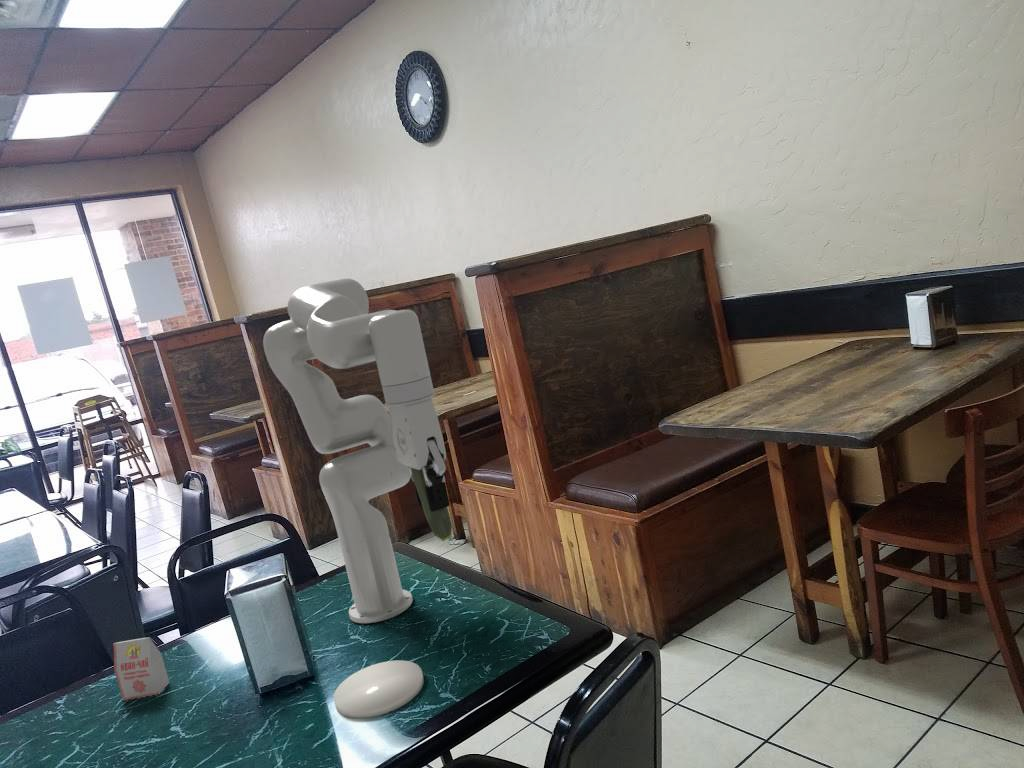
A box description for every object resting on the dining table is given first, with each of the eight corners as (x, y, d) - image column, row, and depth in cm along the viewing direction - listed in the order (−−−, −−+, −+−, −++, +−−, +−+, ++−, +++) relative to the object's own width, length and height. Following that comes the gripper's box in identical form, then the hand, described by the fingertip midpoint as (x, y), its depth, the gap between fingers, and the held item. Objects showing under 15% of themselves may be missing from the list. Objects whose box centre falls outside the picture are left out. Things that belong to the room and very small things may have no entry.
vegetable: (451, 546, 120) (422, 421, 117) (424, 549, 121) (396, 425, 118) (458, 535, 124) (431, 414, 121) (432, 538, 125) (405, 419, 122)
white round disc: (324, 692, 126) (323, 686, 125) (404, 657, 132) (403, 651, 132) (350, 730, 113) (349, 722, 113) (437, 689, 120) (436, 682, 120)
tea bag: (134, 689, 141) (119, 638, 139) (169, 683, 140) (155, 632, 139) (123, 700, 137) (107, 648, 136) (159, 694, 137) (144, 642, 135)
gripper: (367, 395, 124) (392, 503, 127) (406, 402, 110) (433, 524, 112) (411, 383, 128) (434, 489, 131) (453, 388, 113) (478, 508, 116)
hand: (433, 504), depth 122 cm, fingers closed on vegetable, 4 cm apart
